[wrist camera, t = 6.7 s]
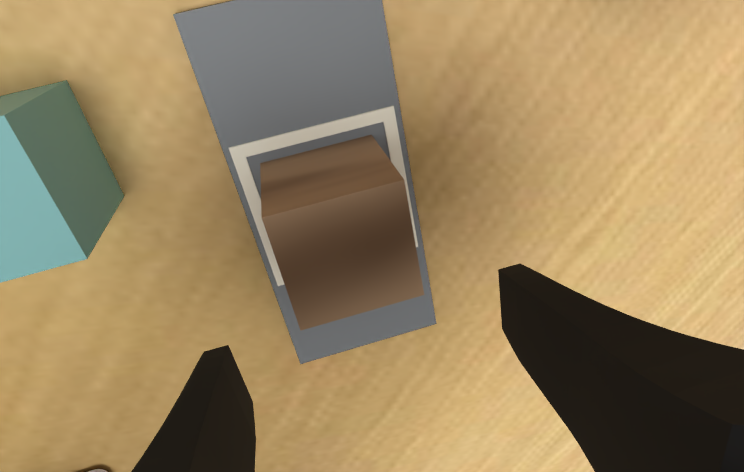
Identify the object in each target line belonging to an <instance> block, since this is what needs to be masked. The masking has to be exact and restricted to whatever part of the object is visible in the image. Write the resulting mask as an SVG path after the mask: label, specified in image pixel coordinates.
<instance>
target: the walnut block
mask: <svg viewBox="0 0 744 472" xmlns="http://www.w3.org/2000/svg"><path fill="white" fill-rule="evenodd" d="M260 177H261V216H262V221H263V223H264V226H265V229H266V232H267V235H268V238H269V241H270V244H271V247H272V250H273V252H274V255H275V258H276V261H277V264H278V267H279V270H280V273H281V276H282V278H283V281H284V284H285V287H286V290H287V293H288V296H289V299H290V302H291V304H292V307H293V310H294V313H295V316H296V319H297V322H298V325H299V328H300V331H301V330H305V329H308V328H312V327H315V326H319V325H322V324H325V323H329V322H332V321H336V320H339V319H343V318H346V317H350V316H353V315H357V314H360V313H363V312H367V311H370V310H374V309H377V308H381V307H384V306H388V305H391V304H395V303H398V302H401V301H405V300H408V299H412V298H415V297H419V296H422V295H424V290H423V284H422V279H421V273H420V267H419V261H418V256H417V250H416V244H415V238H414V233H413V227H412V221H411V215H410V210H409V204H408V198H407V193H406V187H405V181H404V179H403V177H402V176H401V175H400V173H399V172H398V170H397V169H396V168H395V166H394V165H393V164H392V162H391V161H390V159H389V158H388V157H387V155H386V154H385V153H384V151H383V150H382V148H381V147H380V146H379V144H378V143H377V142H376V140H375V139H374V137H373V136H372V135H368V136H364V137H360V138H356V139H352V140H348V141H344V142H340V143H337V144H333V145H329V146H325V147H321V148H317V149H313V150H309V151H305V152H302V153H298V154H294V155H290V156H286V157H282V158H278V159H274V160H270V161H267V162H263V163H260Z"/></svg>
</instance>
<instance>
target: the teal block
mask: <svg viewBox="0 0 744 472" xmlns="http://www.w3.org/2000/svg"><path fill="white" fill-rule="evenodd" d="M123 198H124V194H123V192H122V190H121V188H120V186H119V184H118V182H117V180H116V178H115V176H114V174H113V172H112V170H111V168H110V166H109V164H108V162H107V160H106V158H105V156H104V154H103V152H102V150H101V148H100V146H99V144H98V142H97V140H96V138H95V136H94V134H93V132H92V130H91V128H90V126H89V124H88V122H87V120H86V118H85V116H84V114H83V112H82V110H81V108H80V106H79V104H78V102H77V100H76V98H75V96H74V94H73V92H72V90H71V88H70V86H69V84H68V82H67V80H66V81H62V82H57V83H53V84H49V85H45V86H41V87H37V88H33V89H28V90H24V91H20V92H16V93H12V94H8V95H4V96H0V283H1V282H4V281H8V280H12V279H15V278H19V277H23V276H26V275H30V274H34V273H37V272H41V271H45V270H48V269H52V268H56V267H59V266H63V265H67V264H70V263H74V262H78V261H81V260H85V259H87V258H88V257H89V255H90V253H91V252H92V250H93V248H94V247H95V245H96V243H97V242H98V240H99V238H100V236H101V235H102V233H103V231H104V230H105V228H106V226H107V225H108V223H109V221H110V220H111V218H112V216H113V214H114V213H115V211H116V209H117V208H118V206H119V204H120V203H121V201H122V199H123Z"/></svg>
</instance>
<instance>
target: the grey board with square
mask: <svg viewBox="0 0 744 472" xmlns="http://www.w3.org/2000/svg"><path fill="white" fill-rule="evenodd" d="M173 16H174V18H175V21H176V24H177V27H178V29H179V32H180V35H181V38H182V40H183V43H184V46H185V49H186V51H187V54H188V57H189V60H190V62H191V65H192V68H193V71H194V73H195V76H196V79H197V82H198V84H199V87H200V90H201V92H202V95H203V98H204V101H205V103H206V106H207V109H208V112H209V114H210V117H211V120H212V123H213V125H214V128H215V131H216V134H217V136H218V139H219V142H220V145H221V147H222V150H223V153H224V155H225V158H226V161H227V164H228V166H229V169H230V172H231V175H232V177H233V180H234V183H235V186H236V188H237V191H238V194H239V197H240V199H241V202H242V205H243V208H244V210H245V213H246V216H247V218H248V221H249V224H250V227H251V229H252V232H253V235H254V238H255V240H256V243H257V246H258V249H259V251H260V254H261V257H262V260H263V262H264V265H265V268H266V271H267V273H268V276H269V279H270V281H271V284H272V287H273V290H274V292H275V295H276V298H277V301H278V303H279V306H280V309H281V312H282V314H283V317H284V320H285V323H286V325H287V328H288V331H289V334H290V336H291V339H292V342H293V345H294V347H295V350H296V353H297V355H298V358H299V361H300V364H303V363H306V362H309V361H313V360H316V359H319V358H323V357H326V356H330V355H333V354H336V353H340V352H343V351H346V350H350V349H353V348H356V347H360V346H363V345H367V344H370V343H373V342H377V341H380V340H383V339H387V338H390V337H393V336H397V335H400V334H404V333H407V332H410V331H414V330H417V329H420V328H424V327H427V326H430V325H434V324H436V319H435V313H434V307H433V301H432V295H431V289H430V283H429V277H428V271H427V265H426V259H425V253H424V247H423V241H422V235H421V230H420V224H419V218H418V212H417V206H416V200H415V194H414V188H413V182H412V176H411V170H410V164H409V158H408V152H407V146H406V140H405V135H404V129H403V123H402V117H401V111H400V105H399V99H398V93H397V87H396V81H395V75H394V69H393V63H392V57H391V51H390V46H389V40H388V34H387V28H386V22H385V16H384V10H383V4H382V0H232V1H228V2H223V3H219V4H215V5H210V6H206V7H202V8H197V9H193V10H189V11H184V12H180V13H176V14H173ZM368 135H372V136H373V137H374V139H375V140H376V142H377V143H378V144H379V146H380V147H381V148H382V150H383V151H384V153H385V154H386V155H387V157H388V158H389V159H390V161H391V162H392V164H393V165H394V166H395V168H396V169H397V170H398V172H399V173H400V175H401V176H402V177H403V179H404V181H405V187H406V193H407V198H408V204H409V210H410V215H411V221H412V227H413V233H414V238H415V244H416V250H417V256H418V261H419V267H420V273H421V279H422V284H423V290H424V295H422V296H419V297H415V298H412V299H408V300H405V301H401V302H398V303H395V304H391V305H388V306H384V307H381V308H377V309H374V310H370V311H367V312H363V313H360V314H357V315H353V316H350V317H346V318H343V319H339V320H336V321H332V322H329V323H325V324H322V325H319V326H315V327H312V328H308V329H305V330H301V331H300V328H299V325H298V322H297V319H296V316H295V313H294V310H293V307H292V304H291V302H290V299H289V296H288V293H287V290H286V287H285V284H284V281H283V278H282V276H281V273H280V270H279V267H278V264H277V261H276V258H275V255H274V252H273V250H272V247H271V244H270V241H269V238H268V235H267V232H266V229H265V226H264V223H263V221H262V216H261V177H260V163H263V162H267V161H270V160H274V159H278V158H282V157H286V156H290V155H294V154H298V153H302V152H305V151H309V150H313V149H317V148H321V147H325V146H329V145H333V144H337V143H340V142H344V141H348V140H352V139H356V138H360V137H364V136H368Z"/></svg>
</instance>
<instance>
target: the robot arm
mask: <svg viewBox="0 0 744 472" xmlns="http://www.w3.org/2000/svg"><path fill="white" fill-rule="evenodd" d="M498 272H499V287H500V302H501V317H502V329H503V331H504V333H505V335H506V337H507V339H508V341H509V343H510V345H511V347H512V348H513V350H514V352H515V354H516V355H517V357H518V359H519V361H520V362H521V364H522V365H523V366H524V368H525V369H526V371H527V372H528V374H529V375H530V376H531V378H532V379H533V380H534V382H535V383H536V385H537V386H538V387H539V389H540V390H541V391H542V393H543V394H544V396H545V397H546V398H547V400H548V401H549V402H550V404H551V405H552V407H553V408H554V409H555V411H556V412H557V413H558V415H559V416H560V418H561V419H562V420H563V422H564V423H565V424H566V426H567V427H568V429H569V430H570V432H571V433H572V435H573V436H574V438H575V439H576V441H577V442H578V444H579V445H580V447H581V449H582V450H583V452H584V454H585V455H586V457H587V459H588V461H589V462H590V464H591V466H592V467H593V469H594V471H595V472H744V350H743V349H738V348H734V347H730V346H726V345H721V344H717V343H714V342H710V341H706V340H703V339H699V338H695V337H692V336H688V335H685V334H681V333H678V332H675V331H671V330H668V329H666V328H663V327H660V326H657V325H654V324H651V323H648V322H645V321H642V320H640V319H637V318H634V317H632V316H629V315H627V314H624V313H622V312H620V311H617V310H615V309H613V308H610V307H608V306H605V305H603V304H601V303H599V302H597V301H594V300H592V299H590V298H588V297H586V296H584V295H582V294H580V293H577V292H575V291H573V290H571V289H569V288H567V287H565V286H563V285H561V284H559V283H557V282H556V281H554V280H552V279H550V278H548V277H546V276H544V275H542V274H540V273H538V272H536V271H534V270H532V269H530V268H528V267H526V266H524V265H522V264H517V265H513V266H510V267H506V268H502V269H499V270H498ZM255 447H256V436H255V422H254V411H253V401H252V399H251V397H250V394H249V392H248V390H247V387H246V385H245V383H244V380H243V378H242V376H241V373H240V371H239V369H238V367H237V364H236V362H235V360H234V357H233V355H232V353H231V350H230V348H229V346H228V345H227V346H223V347H219V348H216V349H212V350H209V351H205V352H204V353H203V354H202V356H201V358H200V359H199V361H198V363H197V365H196V367H195V369H194V370H193V372H192V374H191V376H190V378H189V380H188V381H187V383H186V385H185V387H184V389H183V391H182V392H181V394H180V396H179V398H178V399H177V401H176V403H175V405H174V406H173V408H172V410H171V411H170V413H169V415H168V417H167V418H166V420H165V422H164V423H163V425H162V427H161V428H160V430H159V431H158V433H157V434H156V436H155V437H154V439H153V441H152V442H151V444H150V445H149V447H148V448H147V450H146V451H145V453H144V454H143V456H142V457H141V459H140V460H139V462H138V463H137V465H136V466H135V467H134V469H133V470H132V472H255ZM88 472H107V471H106V470H103V469H95V470H91V471H88Z"/></svg>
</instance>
